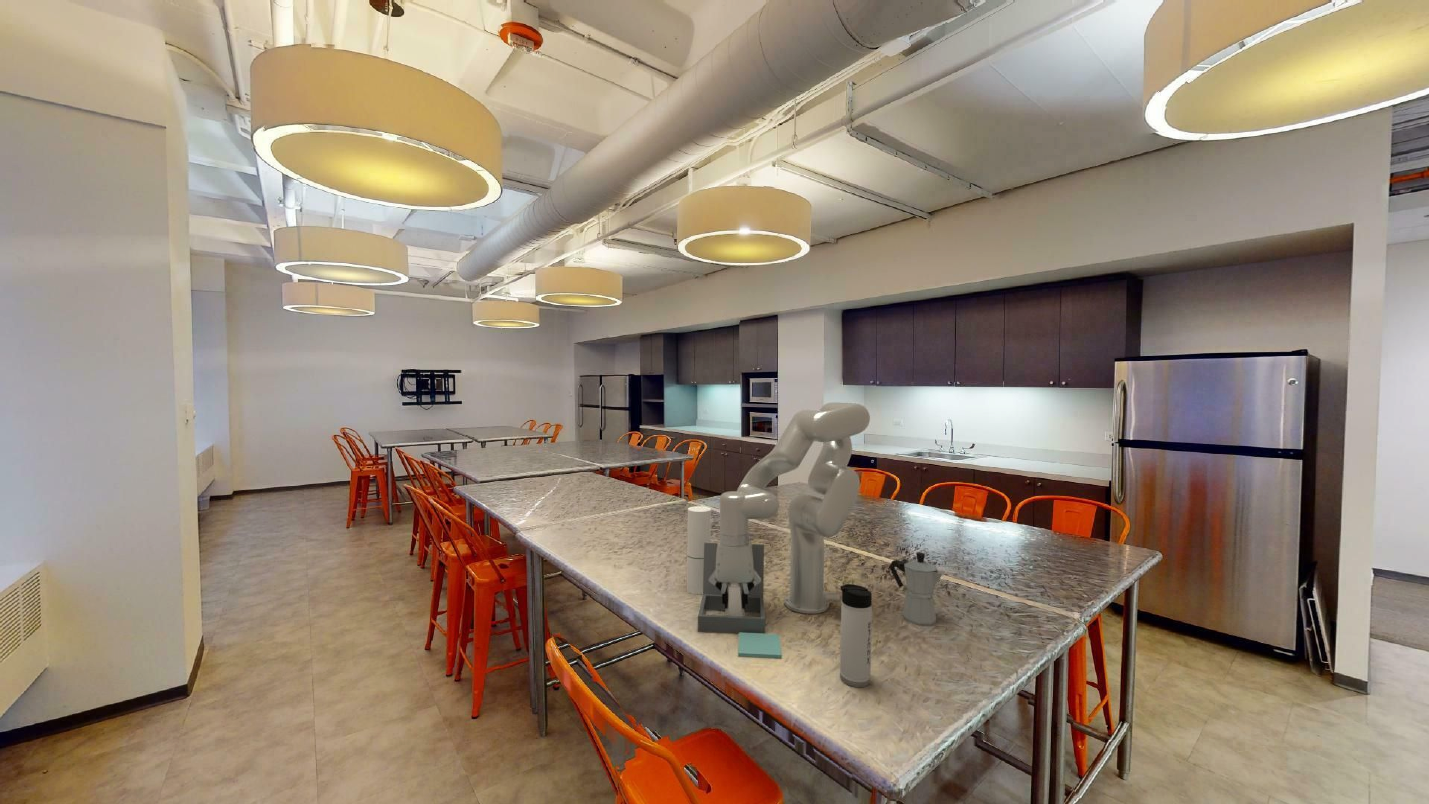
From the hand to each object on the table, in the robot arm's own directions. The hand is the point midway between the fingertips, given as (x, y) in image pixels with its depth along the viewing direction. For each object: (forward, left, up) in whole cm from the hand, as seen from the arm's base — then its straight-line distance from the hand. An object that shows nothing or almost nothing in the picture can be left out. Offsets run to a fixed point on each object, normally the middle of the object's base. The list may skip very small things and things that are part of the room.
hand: (735, 605), depth 136 cm
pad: (-6, +13, -4) cm, 15 cm away
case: (+1, 0, -4) cm, 4 cm away
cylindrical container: (+12, -20, -4) cm, 23 cm away
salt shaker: (0, 0, -3) cm, 3 cm away
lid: (+1, -8, +7) cm, 11 cm away
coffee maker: (-49, -7, -4) cm, 50 cm away
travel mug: (-26, +25, -4) cm, 37 cm away
